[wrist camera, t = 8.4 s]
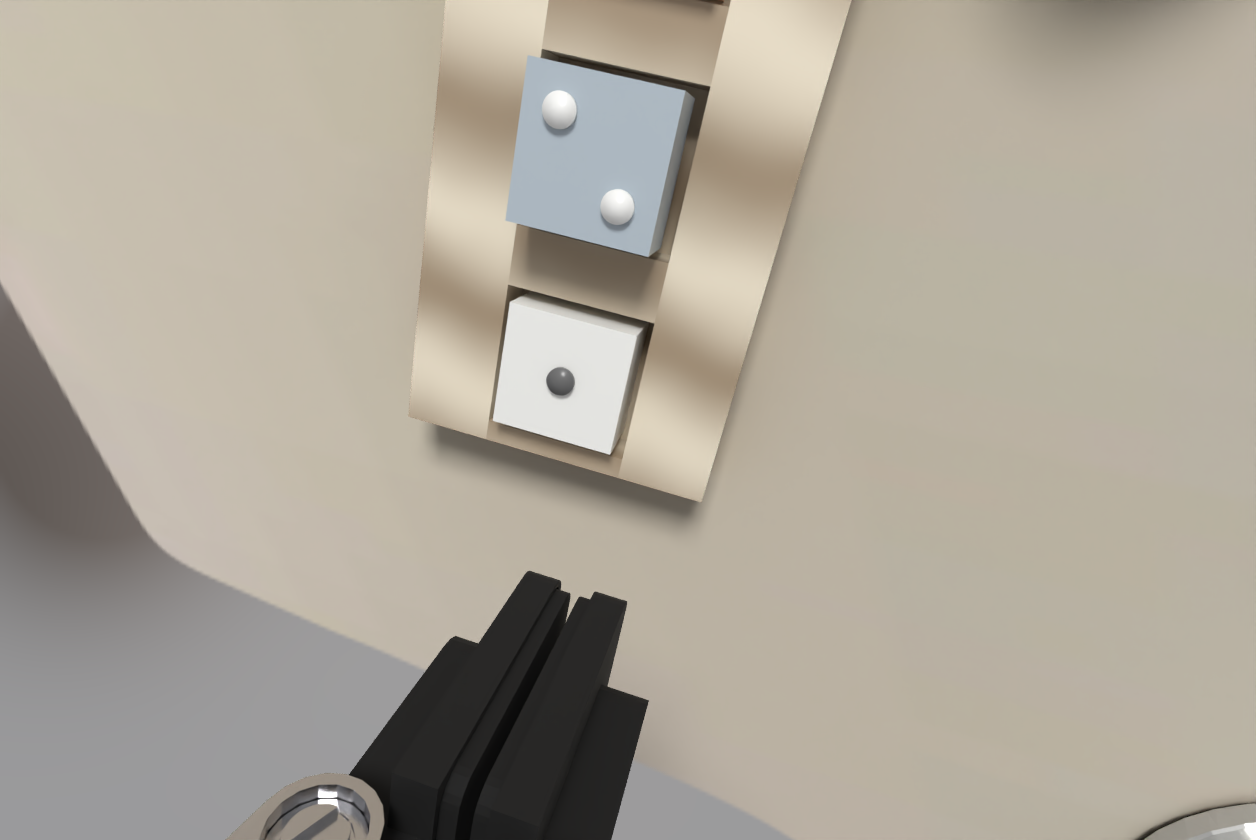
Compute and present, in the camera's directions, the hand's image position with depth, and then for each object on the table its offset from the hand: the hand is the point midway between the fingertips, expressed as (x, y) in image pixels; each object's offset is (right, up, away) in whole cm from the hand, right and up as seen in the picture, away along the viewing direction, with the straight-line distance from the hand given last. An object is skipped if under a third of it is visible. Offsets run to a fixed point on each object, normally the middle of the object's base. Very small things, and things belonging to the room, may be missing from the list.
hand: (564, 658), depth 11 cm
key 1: (-1, +6, +15) cm, 16 cm away
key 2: (0, +12, +11) cm, 16 cm away
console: (+1, +13, +13) cm, 18 cm away
